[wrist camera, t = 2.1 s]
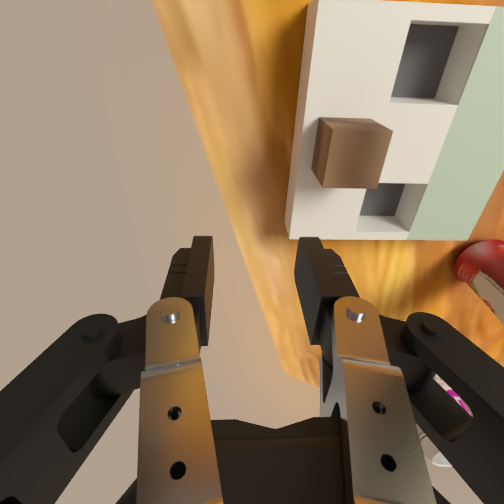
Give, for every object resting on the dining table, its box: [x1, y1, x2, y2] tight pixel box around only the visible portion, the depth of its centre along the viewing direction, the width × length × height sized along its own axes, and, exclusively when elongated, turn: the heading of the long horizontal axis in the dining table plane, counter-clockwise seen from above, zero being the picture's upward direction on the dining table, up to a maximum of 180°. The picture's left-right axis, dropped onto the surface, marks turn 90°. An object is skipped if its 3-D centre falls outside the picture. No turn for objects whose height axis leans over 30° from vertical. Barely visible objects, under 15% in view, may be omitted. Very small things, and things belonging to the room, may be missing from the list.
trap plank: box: [284, 0, 504, 240], centre depth 29 cm, size 20×20×4 cm
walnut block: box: [311, 117, 393, 189], centre depth 25 cm, size 4×4×4 cm
